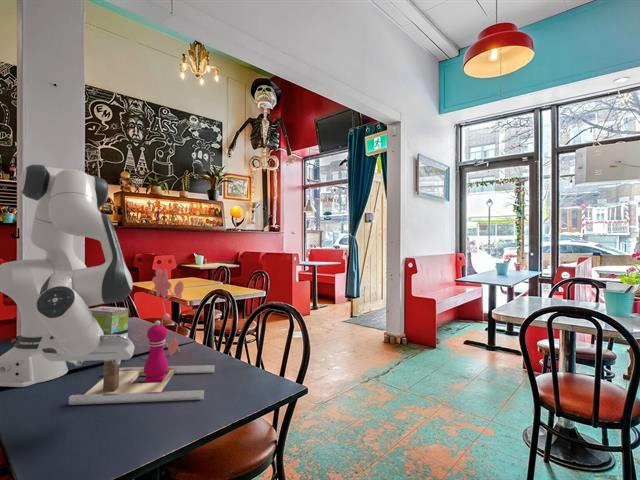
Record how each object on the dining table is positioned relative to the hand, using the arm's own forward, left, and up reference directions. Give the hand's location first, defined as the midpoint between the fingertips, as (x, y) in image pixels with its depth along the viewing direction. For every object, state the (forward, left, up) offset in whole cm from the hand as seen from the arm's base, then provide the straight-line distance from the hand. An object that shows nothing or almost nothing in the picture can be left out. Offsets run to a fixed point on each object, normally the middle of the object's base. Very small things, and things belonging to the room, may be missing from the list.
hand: (99, 362), depth 94 cm
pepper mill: (+10, +17, -13) cm, 23 cm away
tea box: (-26, +64, -13) cm, 70 cm away
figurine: (+2, +45, -13) cm, 47 cm away
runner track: (+9, +14, -12) cm, 21 cm away
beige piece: (+4, +13, -12) cm, 19 cm away
